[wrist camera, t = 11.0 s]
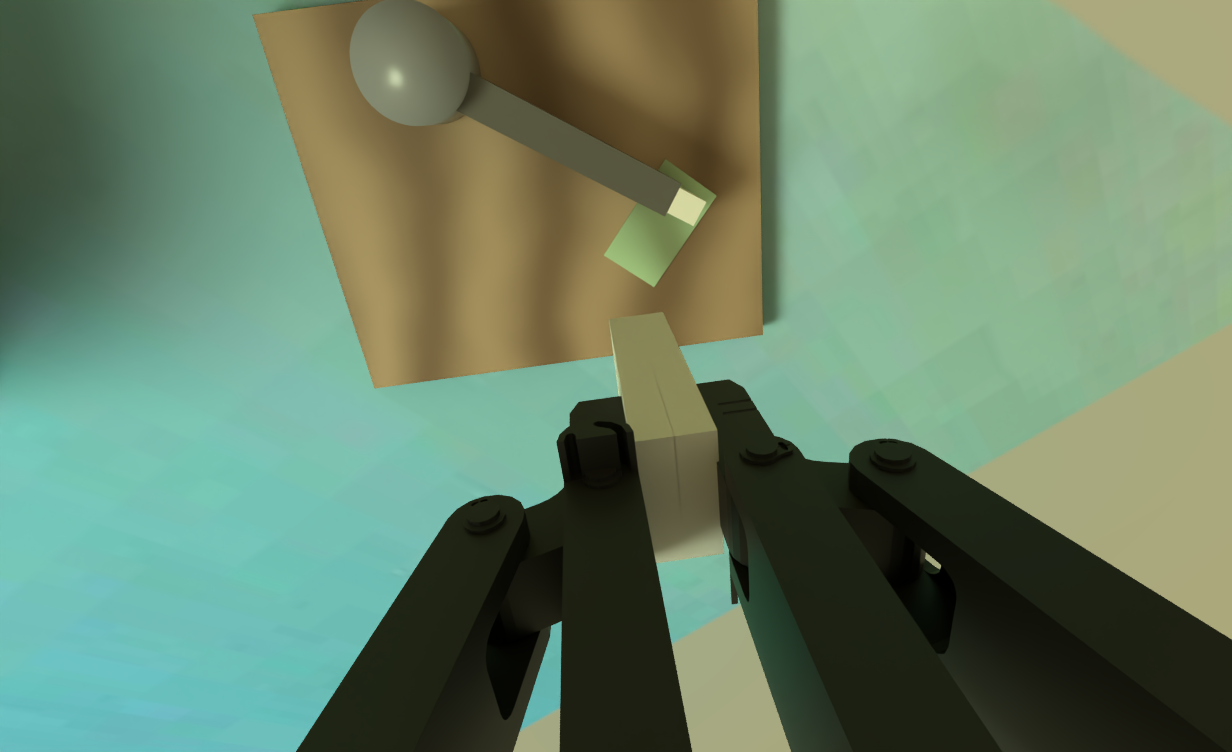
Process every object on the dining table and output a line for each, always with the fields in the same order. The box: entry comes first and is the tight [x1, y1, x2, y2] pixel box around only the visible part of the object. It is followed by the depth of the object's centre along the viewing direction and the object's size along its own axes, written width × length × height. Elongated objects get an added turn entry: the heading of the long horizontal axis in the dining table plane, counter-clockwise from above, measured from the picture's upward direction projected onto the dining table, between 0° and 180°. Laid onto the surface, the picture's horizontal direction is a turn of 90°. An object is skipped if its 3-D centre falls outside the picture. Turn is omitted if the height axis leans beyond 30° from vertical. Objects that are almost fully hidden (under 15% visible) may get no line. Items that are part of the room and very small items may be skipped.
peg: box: [350, 0, 706, 226], centre depth 26 cm, size 16×4×4 cm, turn 64°
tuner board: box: [253, 0, 763, 388], centre depth 29 cm, size 22×18×1 cm
